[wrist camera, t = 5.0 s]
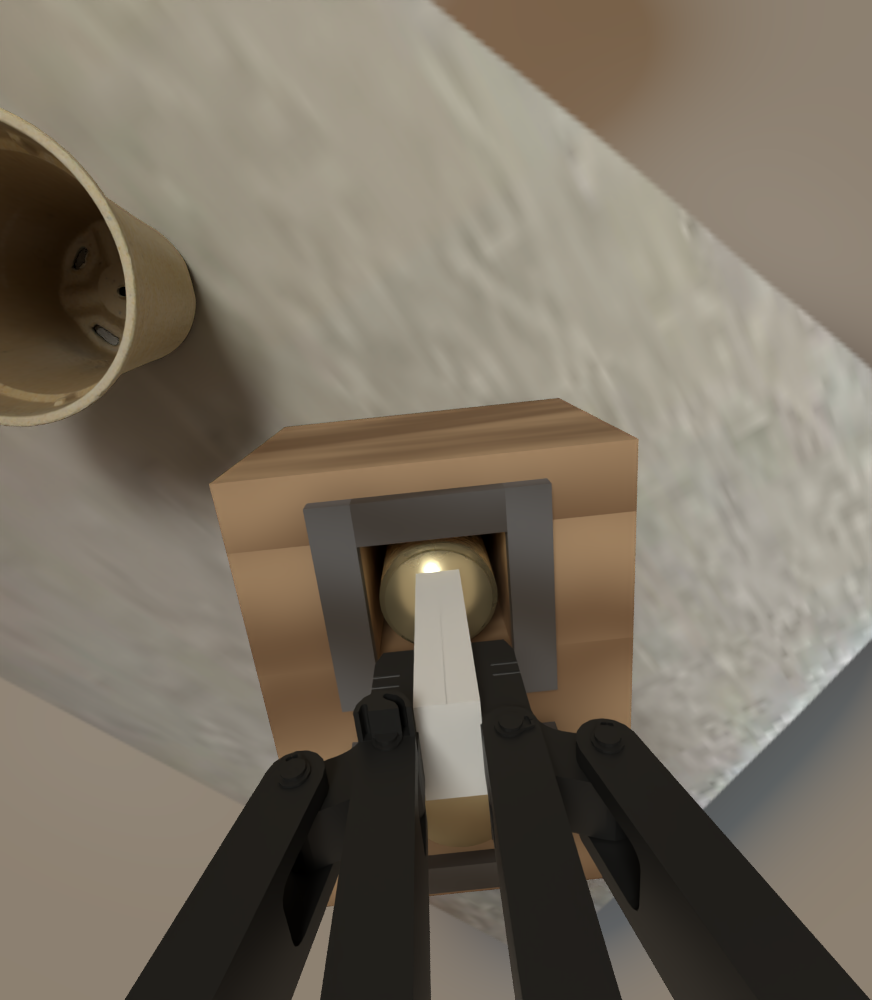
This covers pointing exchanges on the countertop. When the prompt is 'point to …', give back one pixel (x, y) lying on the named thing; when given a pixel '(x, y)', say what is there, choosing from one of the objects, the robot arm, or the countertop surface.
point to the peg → (432, 558)
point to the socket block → (426, 516)
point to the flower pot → (75, 283)
